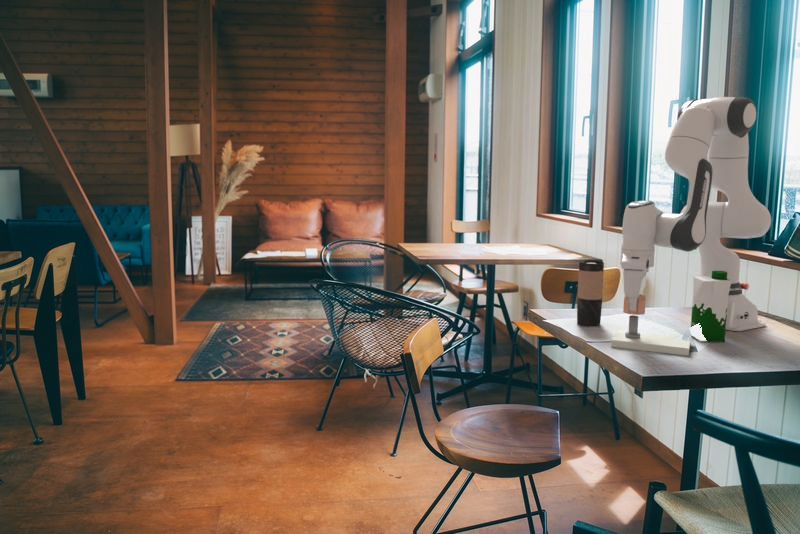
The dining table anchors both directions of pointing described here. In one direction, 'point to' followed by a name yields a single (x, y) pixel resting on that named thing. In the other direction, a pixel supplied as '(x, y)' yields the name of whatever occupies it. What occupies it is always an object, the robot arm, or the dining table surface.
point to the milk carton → (711, 305)
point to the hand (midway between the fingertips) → (634, 307)
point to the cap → (640, 305)
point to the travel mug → (590, 293)
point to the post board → (649, 341)
